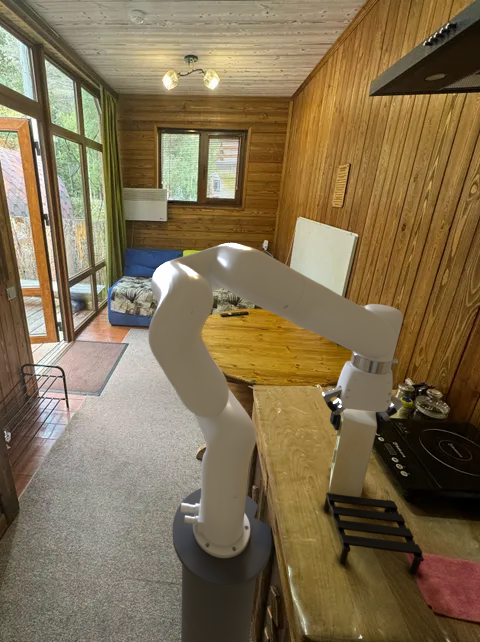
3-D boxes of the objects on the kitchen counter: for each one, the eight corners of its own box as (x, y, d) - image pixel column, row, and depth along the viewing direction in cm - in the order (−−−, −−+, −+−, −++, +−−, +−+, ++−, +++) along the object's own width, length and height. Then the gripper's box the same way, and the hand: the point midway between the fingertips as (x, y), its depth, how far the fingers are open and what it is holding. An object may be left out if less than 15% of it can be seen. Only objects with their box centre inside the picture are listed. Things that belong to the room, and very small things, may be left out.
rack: (340, 564, 59) (344, 546, 58) (323, 507, 70) (326, 490, 69) (418, 575, 58) (425, 557, 56) (387, 515, 69) (392, 498, 67)
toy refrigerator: (327, 467, 81) (341, 398, 75) (359, 478, 78) (376, 408, 72) (325, 490, 74) (340, 417, 68) (359, 503, 71) (378, 428, 65)
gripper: (404, 357, 69) (387, 422, 74) (323, 350, 70) (312, 414, 76) (424, 374, 61) (403, 444, 67) (333, 366, 63) (320, 435, 68)
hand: (355, 428), depth 71 cm, fingers closed on toy refrigerator, 8 cm apart
